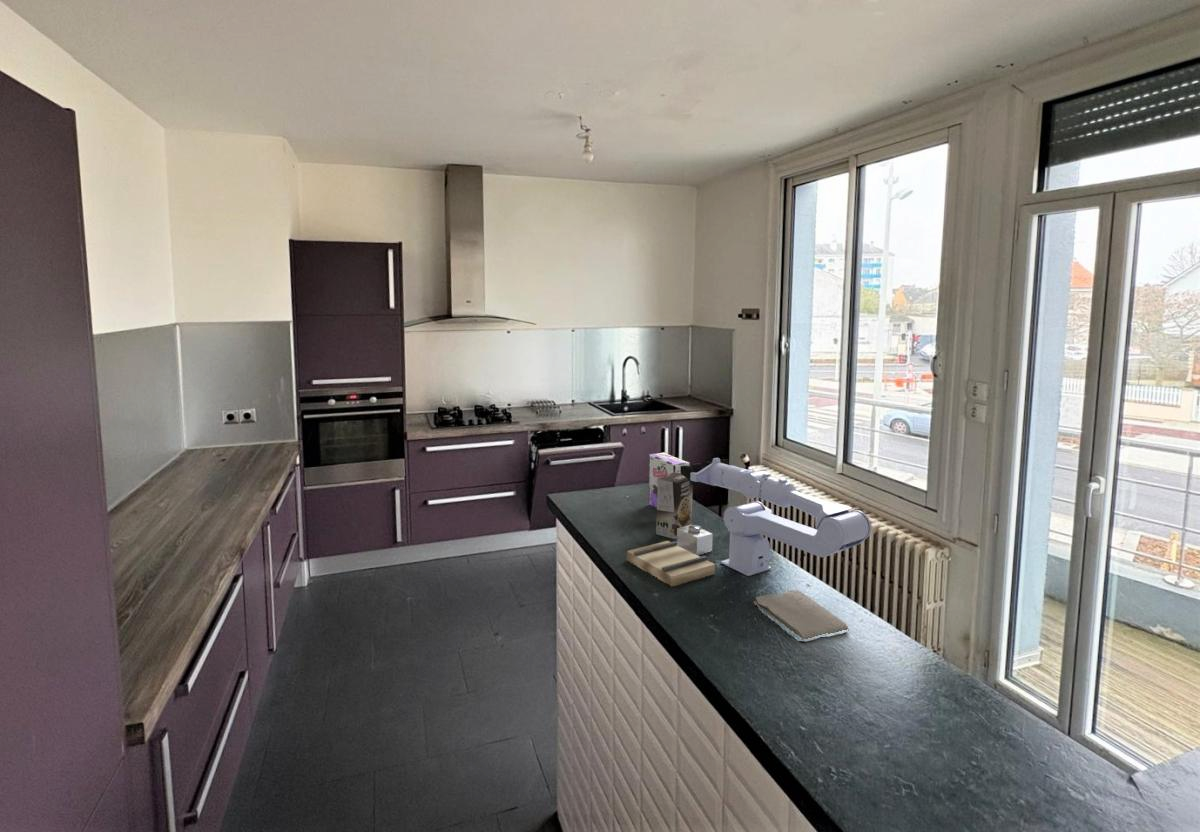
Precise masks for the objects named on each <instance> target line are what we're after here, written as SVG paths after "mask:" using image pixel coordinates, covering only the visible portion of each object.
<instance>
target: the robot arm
mask: <svg viewBox="0 0 1200 832" xmlns="http://www.w3.org/2000/svg"><path fill="white" fill-rule="evenodd" d="M701 465H702V468H701ZM681 474H682V475H683V476H685V477H686V478H687V479H688V480H689V481H690V483H691V485H693V487H696V486H700V483H703V484H706V485H710V486H713V487H717V486H718V487H720V488H723V489H724V488H725V489H727V490H731V491H734V492H738V493H739V492H740V493H741V494H742V495H743V496H744V497H746V498H747V499H750V500H751V499H754V498H759V499H761V500H763V501H765V502H767V503H771V504H772V505H773V504H774V505H776V506H778V507H781V508H782V509H783V508H784V509H786V508H788V507H790V506H792V507H794V508H796V509H797V510H800V511H801V512H803V513H805V514H807V515H810V516H812V517H814V518H815V525H814V527H815V528H814V527H810V526H808V525H805V524H801V523H799V522H796V521H793V520H791V519H789V518H784V517H781V516H779V515H776V514H774V513H773V510H772V509H771V508H768V507H767V506H766V505H764V503H763V502H761V501H759V500H754V501H752V502H749V503H744V504H740V505H737V506H736V505H735V506H729V507H727V508H726V509H725V510H724V513H723V522H724V525H725V526H726V529H727V531H728V532H729V552H728V553H729V554H728V558H727V559H723V560H721V561H720V563H721V564H722V565H724V566H727V567H728V568H731V569H732V570H735V571H737V572H739V573H741V574H743V575H744V576H748V577H749V576H752V575H756V574H759V573H763V572H766V571H769V570H772V567H771V566H770V555H771V554H770V552H771V551H770V550H771V545H770V542H769V540H768V539H767V538H766V537H768V538H770V539H773V540H775V541H778V542H780V543H783V544H786V545H788V546H791V547H793V548H795V549H798V550H801V551H803V552H806V553H808V554H812V555H813V556H816V557H819V558H826V557H829V556H832V555H835V554H838V553H840V552H843V551H845V550H848V549H850V548H852V547H855V546H858V545H861V544H862V543H863V542H865V540H867V538H868V537H869V536H870V535H871V532H872V524H871V520H870V518H869V517H868V515H867V513H865V512H864V511H862V510H858V509H853V507H851V506H849V505H848V504H847V505H846V504H842V503H837V502H833V501H829V500H826V499H823V498H820V497H816V496H813V495H810V494H807V493H804V492H800V491H797V489H796V486H795V485H794V484H792V483H790V482H788V479H787V478H784V477H783V478H776V477H774V476H772V475H771V474H770V473H769V472H767V469H759V470H757V471H754V470H751V469H746V468H742V467H738V466H737V465H734V464H733V465H730V464H729V459H727V458H723V459H721V458H719V457H714V458H712V461H704V462H702V463H700V462H699V463H694V464H690V465H689V466H686V465H685V466H681ZM849 510H850V511H849ZM764 536H765V537H764Z"/></svg>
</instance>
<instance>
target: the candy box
mask: <svg viewBox="0 0 1200 832" xmlns="http://www.w3.org/2000/svg"><path fill="white" fill-rule="evenodd" d="M648 455H649V457H648V458H649V464H648V465H649V467H648V473H649V474H648V505H649V506H650V505H651V507H652V506H653V507H652V508H654V507H655V509H656V510H657V491H658V478H661V477H664V476H666V475H669V474H671V473H674V472H675V473H681V466H685V465H686V466H690V465H691V463H690V462H689V461H686V460H683V459H681V458H678V457H675V456H674V455H671V454H668V453H667V452H665V451H664V452H657V453H651V454H650V453H649V454H648Z"/></svg>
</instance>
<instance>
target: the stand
mask: <svg viewBox="0 0 1200 832" xmlns="http://www.w3.org/2000/svg"><path fill="white" fill-rule="evenodd" d="M626 561H627V562H628V561H629V562H628V563H631V564H632V563H633V564H632V565H634V566H635V565H636V567H637V568H638V569H641V570H642V571H644V572H645V573H647V572H648V573H647V574H649V573H650V574H649V575H651V576H653V577H654V576H655V578H656V577H657V579H658V580H659V581H660V582H661V581H662V582H663V583H665V584H666V583H667V585H668V584H669V586H670V587H672V586H673V587H676V586H679V585H682V583H683V584H686V583H689V581H690V582H693V581H696V580H700V579H703V578H706V576H707V577H710V576H713V575H716V573H715V572H716V564H715V563H713V562H712V561H709V559H707V556H705V555H703V556H700V555H696V554H694V553H692V552H689V551H687V550H685V549H683V548H681V547H679V546H677V541H672V542H671V541H669V540H665V541H661V542H658V543H652V544H650V545H646V546H641V547H638V548H633V549H629V550H626ZM692 580H693V581H692Z"/></svg>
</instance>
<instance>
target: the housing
mask: <svg viewBox="0 0 1200 832" xmlns="http://www.w3.org/2000/svg"><path fill="white" fill-rule="evenodd" d="M713 535H714V533H712V532H710V531H708V530H706V529H704V528H702V526H701V525H696V524H691V525H689V526H685V527H680V528H677V538H676V542H677V546H679V547H681V548H683V549H685V550H687V551H689V552H692V553H694V554H696V555H698V556H700V555H704V553H705V554H708V552H709V553H712V552H713V539H714V536H713ZM711 551H712V552H711Z"/></svg>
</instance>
